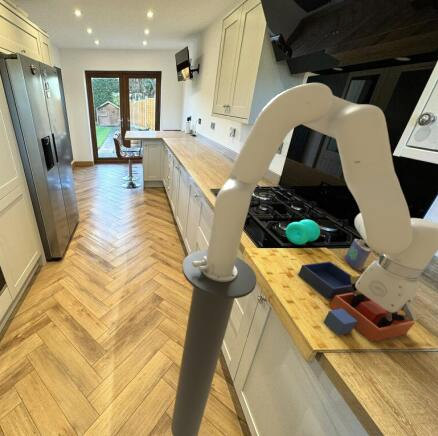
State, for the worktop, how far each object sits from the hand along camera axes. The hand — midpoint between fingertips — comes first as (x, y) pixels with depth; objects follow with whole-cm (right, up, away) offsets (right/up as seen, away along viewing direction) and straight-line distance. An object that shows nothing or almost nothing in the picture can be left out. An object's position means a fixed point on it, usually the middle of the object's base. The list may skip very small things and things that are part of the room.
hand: (367, 315), depth 67 cm
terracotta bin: (0, -1, +1) cm, 1 cm away
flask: (+17, +10, +25) cm, 32 cm away
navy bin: (-1, +5, +14) cm, 15 cm away
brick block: (0, -1, 0) cm, 1 cm away
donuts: (+6, +17, +39) cm, 43 cm away
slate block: (-11, -2, -2) cm, 11 cm away
